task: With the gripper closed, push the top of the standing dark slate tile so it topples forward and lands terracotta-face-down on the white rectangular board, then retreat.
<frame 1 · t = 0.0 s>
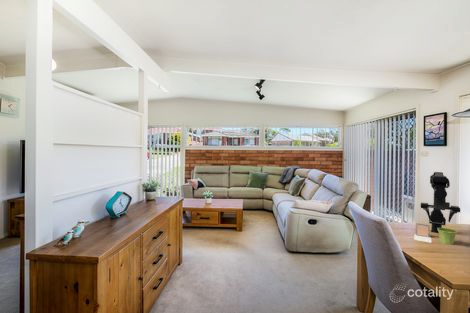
hand: (439, 220, 151), 15 cm above the table, fingers open, 9 cm apart
plant pot: (446, 244, 152), on the table
slate tile: (422, 236, 164), point 1 cm above the table, touching white rectangular board
white rectangular board: (422, 239, 160), on the table
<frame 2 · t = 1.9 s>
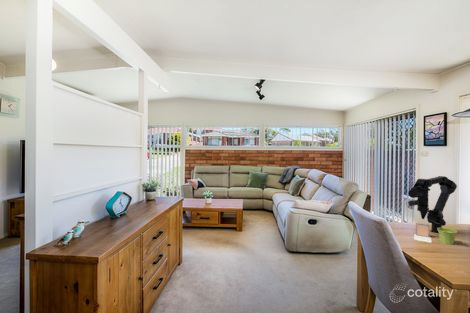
hand: (422, 219, 169), 11 cm above the table, fingers closed
nothing on the table moved.
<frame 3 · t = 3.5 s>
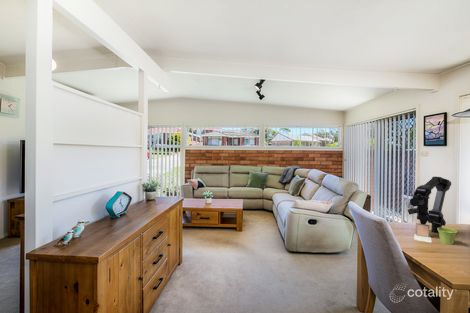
hand: (422, 227, 166), 6 cm above the table, fingers closed
slate tile: (422, 236, 164), point 1 cm above the table, touching white rectangular board, gripper
everything else where it was.
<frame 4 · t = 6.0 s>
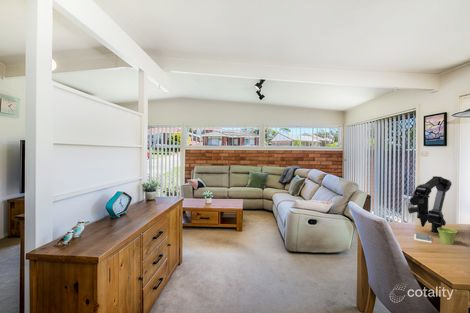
hand: (422, 226, 166), 6 cm above the table, fingers closed
slate tile: (422, 235, 163), point 1 cm above the table, tilted 90°, touching white rectangular board
everything else where it was.
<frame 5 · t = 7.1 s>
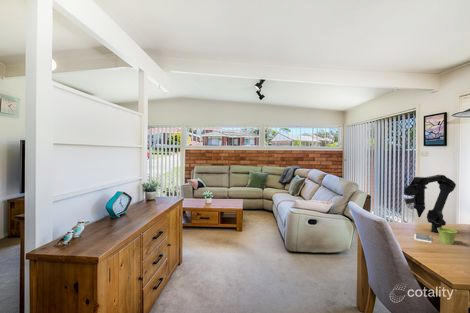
hand: (419, 217, 170), 12 cm above the table, fingers closed
nothing on the table moved.
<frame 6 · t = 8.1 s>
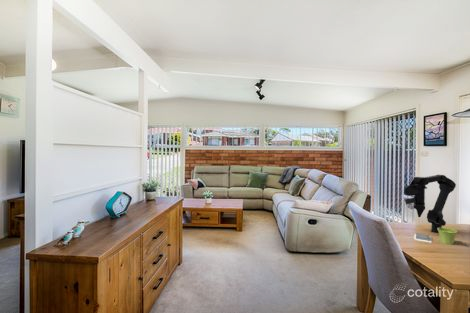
hand: (419, 217, 170), 12 cm above the table, fingers closed
nothing on the table moved.
at the end: slate tile tilted 90°; slate tile 4.1 cm from the white rectangular board (horizontally); slate tile point 1.4 cm above the table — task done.
